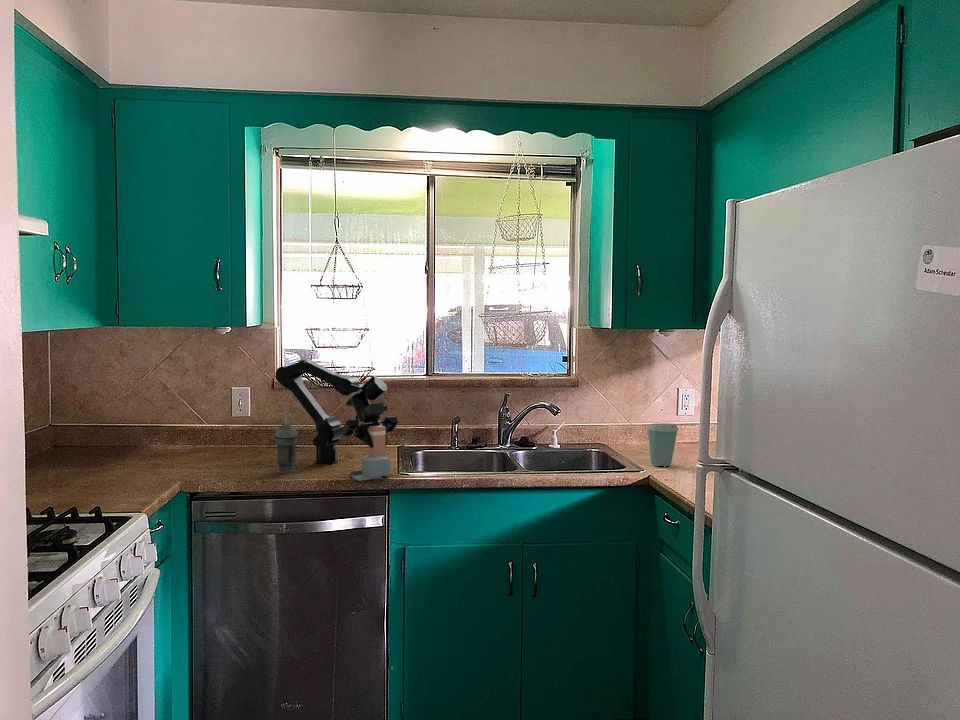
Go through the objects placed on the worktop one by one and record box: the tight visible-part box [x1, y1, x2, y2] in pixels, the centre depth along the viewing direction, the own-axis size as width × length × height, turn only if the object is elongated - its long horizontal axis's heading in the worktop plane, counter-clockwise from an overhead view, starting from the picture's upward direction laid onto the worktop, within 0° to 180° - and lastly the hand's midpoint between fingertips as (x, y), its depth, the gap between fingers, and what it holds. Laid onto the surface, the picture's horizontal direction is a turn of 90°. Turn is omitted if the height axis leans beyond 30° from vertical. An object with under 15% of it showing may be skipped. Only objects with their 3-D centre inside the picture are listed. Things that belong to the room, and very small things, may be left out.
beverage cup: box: [274, 410, 299, 474], centre depth 252 cm, size 7×7×20 cm
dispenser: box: [349, 455, 391, 482], centre depth 246 cm, size 6×11×6 cm, turn 126°
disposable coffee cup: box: [646, 422, 679, 467], centre depth 270 cm, size 11×11×15 cm
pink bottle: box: [368, 425, 387, 458], centre depth 255 cm, size 3×4×13 cm
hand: (379, 446), depth 253 cm, fingers closed on pink bottle, 4 cm apart
